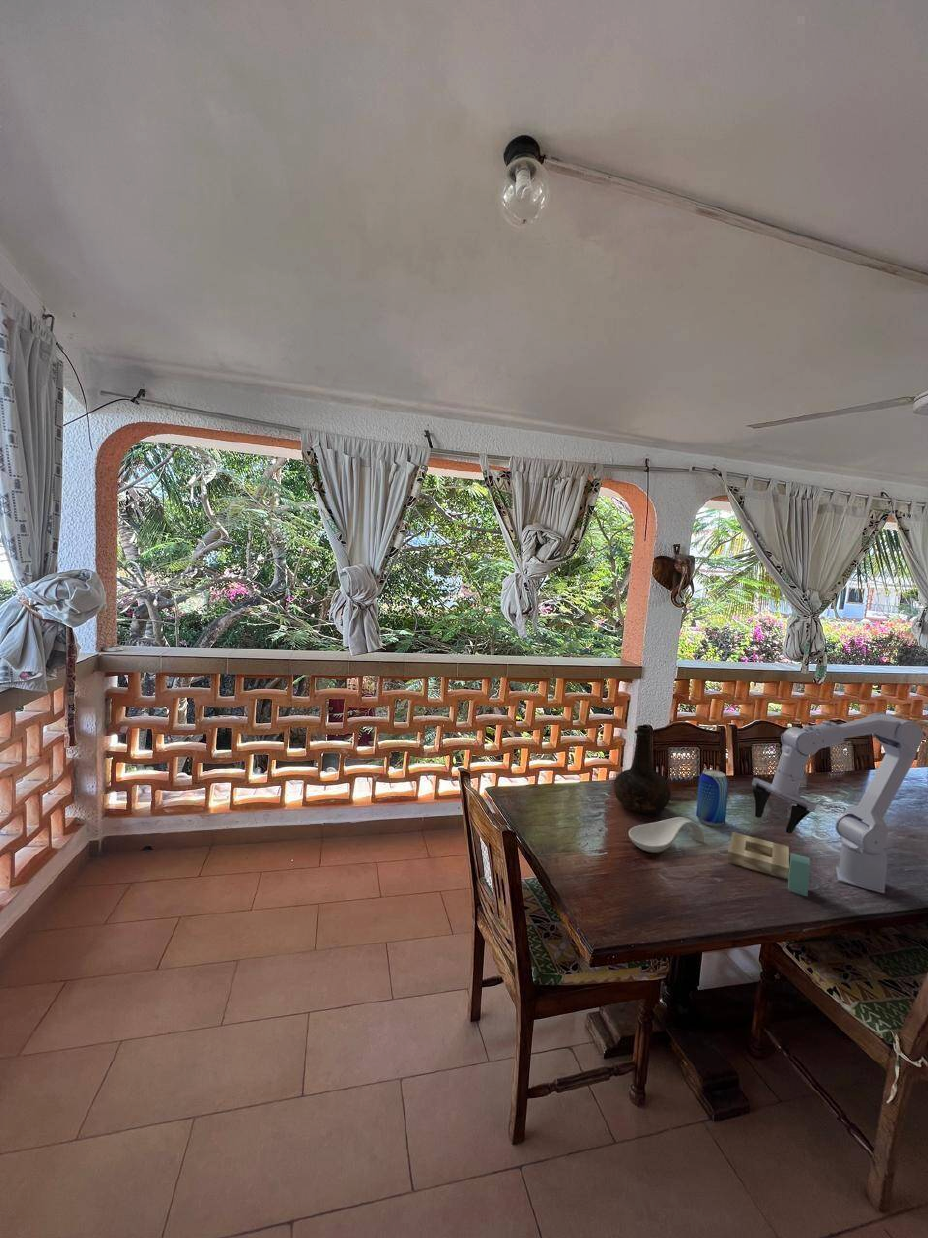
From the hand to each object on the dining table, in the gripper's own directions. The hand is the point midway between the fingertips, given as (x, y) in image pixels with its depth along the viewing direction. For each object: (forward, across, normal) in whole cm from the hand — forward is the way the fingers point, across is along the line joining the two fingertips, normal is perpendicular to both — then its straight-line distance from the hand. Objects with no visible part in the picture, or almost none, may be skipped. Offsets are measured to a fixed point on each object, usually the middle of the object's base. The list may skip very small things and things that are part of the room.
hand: (772, 824), depth 131 cm
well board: (+13, -5, +11) cm, 18 cm away
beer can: (+14, -25, +21) cm, 35 cm away
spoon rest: (+19, -22, -4) cm, 30 cm away
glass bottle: (+18, -42, +9) cm, 47 cm away
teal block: (+13, +8, +4) cm, 16 cm away
